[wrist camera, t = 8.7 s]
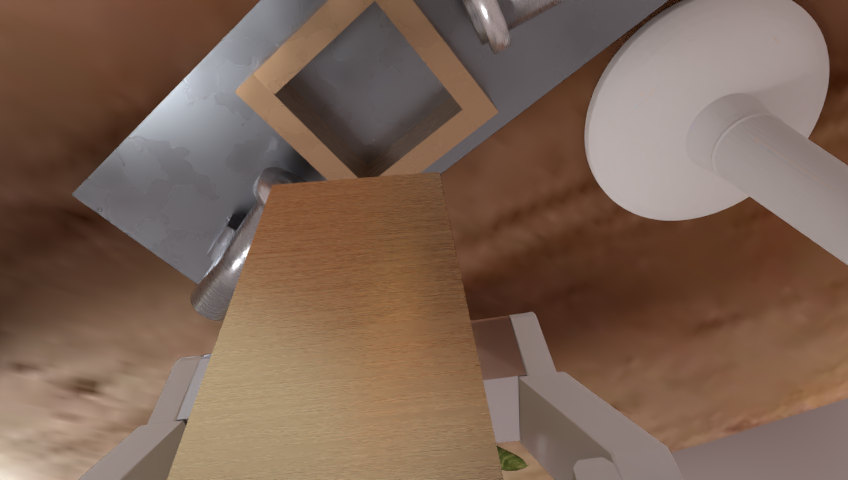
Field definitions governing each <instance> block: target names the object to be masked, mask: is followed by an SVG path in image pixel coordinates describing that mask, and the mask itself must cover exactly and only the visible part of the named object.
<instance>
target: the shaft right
mask: <svg viewBox="0 0 848 480" xmlns="http://www.w3.org/2000/svg"><path fill="white" fill-rule="evenodd" d="M564 1H566V0H461V2H462V4H463V7H464V9H465V11H466V14H467V16H468V18H469V20H470V22H471V25H472V27H473V29H474V31H475V33H476V35H477V37H478V39H479V41H480V43H481V45H484V44H486V43H487V44H488V45H489V47H490V49H491V51H492V53H493V54H494V55H496V54H498V53H500V52H502V51H504V50H506V49H508V48H510V47H511V46H512V39H511V36H510V33H509V31H510V30H512V29H514V28H516V27H518V26H520V25H521V24H523V23H525V22H527V21H529V20H531V19H533V18H534V17H536V16H538V15H540V14H542V13H544V12H546V11H547V10H549V9H551V8H553V7H555V6H557V5H558V4H560V3H562V2H564Z"/></svg>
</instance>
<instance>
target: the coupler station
mask: <svg viewBox="0 0 848 480" xmlns="http://www.w3.org/2000/svg"><path fill="white" fill-rule="evenodd" d="M667 1H668V0H566V1H564V2H562V3H560V4H558V5H557V6H555V7H553V8H551V9H549V10H547V11H546V12H544V13H542V14H540V15H538V16H536V17H534V18H533V19H531V20H529V21H527V22H525V23H523V24H521V25H520V26H518V27H516V28H514V29H512V30H510V31H509V33H510V36H511V39H512V46H511V47H510V48H508V49H506V50H504V51H502V52H500V53H498V54H496V55H494V54H493V53H492V51H491V49H490V47H489V45H488V44H487V43H486V44H484V45H481V43H480V41H479V39H478V37H477V35H476V33H475V31H474V29H473V27H472V25H471V22H470V20H469V18H468V16H467V14H466V11H465V9H464V7H463V4H462V2H461V0H261V1H260V2H259V3H258V4H257V5H256V6H255V7H254V8H253V9H252V10H251V11H250V12H249V13H248V14H247V15H246V16H245V17H244V18H243V19H242V20H241V21H240V22H239V23H238V24H237V25H236V26H235V27H234V28H233V29H232V30H231V31H230V32H229V33H228V34H227V35H226V36H225V37H224V38H223V39H222V41H221V42H220V43H219V44H218V45H217V46H216V47H215V48H214V49H213V50H212V51H211V52H210V53H209V54H208V55H207V56H206V57H205V58H204V59H203V60H202V61H201V62H200V63H199V64H198V65H197V66H196V67H195V68H194V69H193V70H192V71H191V72H190V73H189V74H188V75H187V76H186V77H185V78H184V80H183V81H182V82H181V83H180V84H179V85H178V86H177V87H176V88H175V89H174V90H173V91H172V92H171V93H170V94H169V95H168V96H167V97H166V98H165V99H164V100H163V101H162V102H161V103H160V104H159V105H158V106H157V107H156V108H155V109H154V110H153V111H152V112H151V113H150V114H149V115H148V116H147V117H146V119H145V120H144V121H143V122H142V123H141V124H140V125H139V126H138V127H137V128H136V129H135V130H134V131H133V132H132V133H131V134H130V135H129V136H128V137H127V138H126V139H125V140H124V141H123V142H122V143H121V144H120V145H119V146H118V147H117V148H116V149H115V150H114V151H113V152H112V153H111V154H110V155H109V156H108V158H107V159H106V160H105V161H104V162H103V163H102V164H101V165H100V166H99V167H98V168H97V169H96V170H95V171H94V172H93V173H92V174H91V175H90V176H89V177H88V178H87V179H86V180H85V181H84V182H83V183H82V184H81V185H80V186H79V187H78V188H77V189H76V190H75V191H74V192H73V193H72V194H71V195H72V196H74V197H75V198H77V199H78V200H79V201H81V202H82V203H84V204H85V205H86V206H88V207H89V208H91V209H92V210H94V211H95V212H96V213H98V214H99V215H101V216H102V217H103V218H105V219H106V220H108V221H109V222H110V223H112V224H113V225H115V226H116V227H117V228H119V229H120V230H122V231H123V232H124V233H126V234H127V235H129V236H130V237H132V238H133V239H134V240H136V241H137V242H139V243H140V244H141V245H143V246H144V247H146V248H147V249H148V250H150V251H151V252H153V253H154V254H155V255H157V256H158V257H160V258H161V259H163V260H164V261H165V262H167V263H168V264H170V265H171V266H172V267H174V268H175V269H177V270H178V271H179V272H181V273H182V274H184V275H185V276H186V277H188V278H189V279H191V280H192V281H194V282H195V283H196V284H199V282H200V281H201V280H202V278H203V277H204V275H205V274H206V272H207V271H208V270H209V268H210V267H211V265H212V264H213V263H214V261H215V260H213V259H212V258H210V257H208V256H206V255H207V253H208V251H209V249H210V247H211V245H212V243H213V242H214V240H215V239H216V237H217V236H218V234H219V233H220V231H221V230H222V229H223V227H224V226H225V224H226V223H227V221H228V220H229V218H230V217H231V216H232V214H234V215H236V216H238V217H240V218H241V219H243V220H244V219H245V217H246V216H247V215H248V213H249V212H250V210H251V209H252V208H253V206H254V205H255V203H256V202H257V201H256V199H255V197H254V194H253V184H254V183H255V181H256V180H257V178H258V177H259V175H260V174H261V173H262V171H263V170H264V169H266V168H269V167H278V168H282V169H285V170H288V171H290V172H292V173H294V174H296V175H298V176H300V177H301V178H303V179H304V180H305V181H307V182H315V181H328V180H341V179H353V178H366V177H378V176H391V175H404V174H416V173H429V172H439V173H440V174H441V173H442V172H444V171H445V170H446V169H448V168H449V167H450V166H452V165H453V164H454V163H456V162H457V161H458V160H460V159H461V158H462V157H463V156H465V155H466V154H467V153H469V152H470V151H471V150H473V149H474V148H475V147H477V146H478V145H479V144H481V143H482V142H483V141H484V140H486V139H487V138H488V137H490V136H491V135H492V134H494V133H495V132H496V131H498V130H499V129H500V128H502V127H503V126H504V125H505V124H507V123H508V122H509V121H511V120H512V119H513V118H515V117H516V116H517V115H519V114H520V113H521V112H523V111H524V110H525V109H526V108H528V107H529V106H530V105H532V104H533V103H534V102H536V101H537V100H538V99H540V98H541V97H542V96H543V95H545V94H546V93H547V92H549V91H550V90H551V89H553V88H554V87H555V86H557V85H558V84H559V83H561V82H562V81H563V80H564V79H566V78H567V77H568V76H570V75H571V74H572V73H574V72H575V71H576V70H578V69H579V68H580V67H582V66H583V65H584V64H585V63H587V62H588V61H589V60H591V59H592V58H593V57H595V56H596V55H597V54H599V53H600V52H601V51H603V50H604V49H605V48H606V47H608V46H609V45H610V44H612V43H613V42H614V41H616V40H617V39H618V38H620V37H621V36H622V35H624V34H625V33H626V32H627V31H629V30H630V29H631V28H633V27H634V26H635V25H637V24H638V23H639V22H641V21H642V20H643V19H645V18H646V17H647V16H648V15H650V14H651V13H652V12H654V11H655V10H656V9H658V8H659V7H660V6H662V5H663V4H664V3H666V2H667Z"/></svg>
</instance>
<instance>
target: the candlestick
mask: <svg viewBox="0 0 848 480" xmlns="http://www.w3.org/2000/svg"><path fill="white" fill-rule="evenodd" d="M828 83H829V56H828V51H827V46H826V43H825V40H824V37H823V35H822V33H821V30H820V29H819V27H818V25H817V24H816V22H815V21H814V20H813V18H812V17H811V16H810V15H809V14H808V13H807V12H806V11H805V10H804V9H803V8H802V7H801V6H799V5H798V4H796V3H795V2H794V1H792V0H682V1H680V2H678V3H676V4H674V5H672V6H671V7H669V8H667V9H665V10H664V11H662V12H661V13H659V14H658V15H656V16H655V17H653V18H652V19H651V20H649V21H648V22H647V23H645V24H644V25H643V26H642V27H641V28H640V29H638V30H637V31H636V32H635V33H634V34H633V35H632V36H631V37H630V38H629V39H628V40H627V41H626V42H625V43H624V44H623V45H622V47H621V48H620V49H619V50H618V51H617V53H616V54H615V55H614V57H613V58H612V60H611V61H610V62H609V64H608V65H607V67H606V68H605V70H604V72H603V74H602V75H601V77H600V79H599V81H598V83H597V85H596V88H595V90H594V92H593V95H592V98H591V101H590V104H589V107H588V111H587V116H586V122H585V134H584V140H585V150H586V156H587V160H588V164H589V166H590V169H591V171H592V174H593V176H594V177H595V179H596V181H597V182H598V184H599V185H600V187H601V188H602V189H603V191H604V192H605V193H606V194H607V195H608V196H609V197H610V198H611V199H612V200H613V201H614V202H615V203H617V204H618V205H620V206H621V207H623V208H624V209H626V210H628V211H630V212H632V213H634V214H637V215H639V216H642V217H646V218H650V219H656V220H665V221H679V220H688V219H694V218H699V217H703V216H707V215H710V214H713V213H716V212H719V211H722V210H724V209H726V208H729V207H731V206H733V205H735V204H737V203H739V202H741V201H743V200H744V199H746V198H748V197H749V196H750V197H751V198H753V199H754V200H755V201H757V202H758V203H760V204H761V205H763V206H764V207H765V208H767V209H768V210H770V211H771V212H773V213H774V214H775V215H777V216H778V217H780V218H781V219H782V220H784V221H785V222H787V223H788V224H790V225H791V226H792V227H794V228H795V229H797V230H798V231H800V232H801V233H802V234H804V235H805V236H807V237H808V238H810V239H811V240H812V241H814V242H815V243H817V244H818V245H820V246H821V247H822V248H824V249H825V250H827V251H828V252H830V253H831V254H832V255H834V256H835V257H837V258H838V259H840V260H841V261H842V262H844V263H845V264H847V265H848V165H846V164H845V163H843V162H842V161H840V160H839V159H837V158H836V157H834V156H833V155H831V154H830V153H828V152H827V151H825V150H824V149H822V148H821V147H819V146H818V145H816V144H815V143H813V142H812V141H810V140H809V139H808V137H809V136H810V134H811V132H812V130H813V128H814V127H815V125H816V122H817V120H818V118H819V116H820V113H821V110H822V108H823V105H824V101H825V98H826V94H827V89H828Z"/></svg>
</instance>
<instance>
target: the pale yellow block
mask: <svg viewBox="0 0 848 480" xmlns="http://www.w3.org/2000/svg"><path fill="white" fill-rule="evenodd" d="M167 480H504V479H503V474H502V469H501V464H500V460H499V455H498V450H497V445H496V441H495V436H494V431H493V426H492V421H491V417H490V412H489V407H488V402H487V398H486V393H485V388H484V383H483V378H482V374H481V369H480V364H479V359H478V355H477V350H476V345H475V340H474V335H473V331H472V326H471V321H470V316H469V312H468V307H467V302H466V297H465V292H464V288H463V283H462V278H461V273H460V269H459V264H458V259H457V254H456V249H455V245H454V240H453V235H452V230H451V225H450V221H449V216H448V211H447V206H446V202H445V197H444V192H443V187H442V182H441V178H440V173H439V172H429V173H416V174H404V175H391V176H378V177H366V178H353V179H341V180H328V181H315V182H303V183H290V184H278V185H272V187H271V190H270V193H269V196H268V199H267V201H266V204H265V207H264V210H263V213H262V215H261V218H260V221H259V224H258V226H257V229H256V232H255V235H254V238H253V240H252V243H251V246H250V249H249V252H248V254H247V257H246V260H245V263H244V266H243V268H242V271H241V274H240V277H239V280H238V282H237V285H236V288H235V291H234V293H233V296H232V299H231V302H230V305H229V307H228V310H227V313H226V316H225V319H224V321H223V324H222V327H221V330H220V333H219V335H218V338H217V341H216V344H215V347H214V349H213V352H212V355H211V358H210V360H209V363H208V366H207V369H206V372H205V374H204V377H203V380H202V383H201V386H200V388H199V391H198V394H197V397H196V400H195V402H194V405H193V408H192V411H191V414H190V416H189V419H188V422H187V425H186V427H185V430H184V433H183V436H182V439H181V441H180V444H179V447H178V450H177V453H176V455H175V458H174V461H173V464H172V467H171V469H170V472H169V475H168V478H167Z"/></svg>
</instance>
